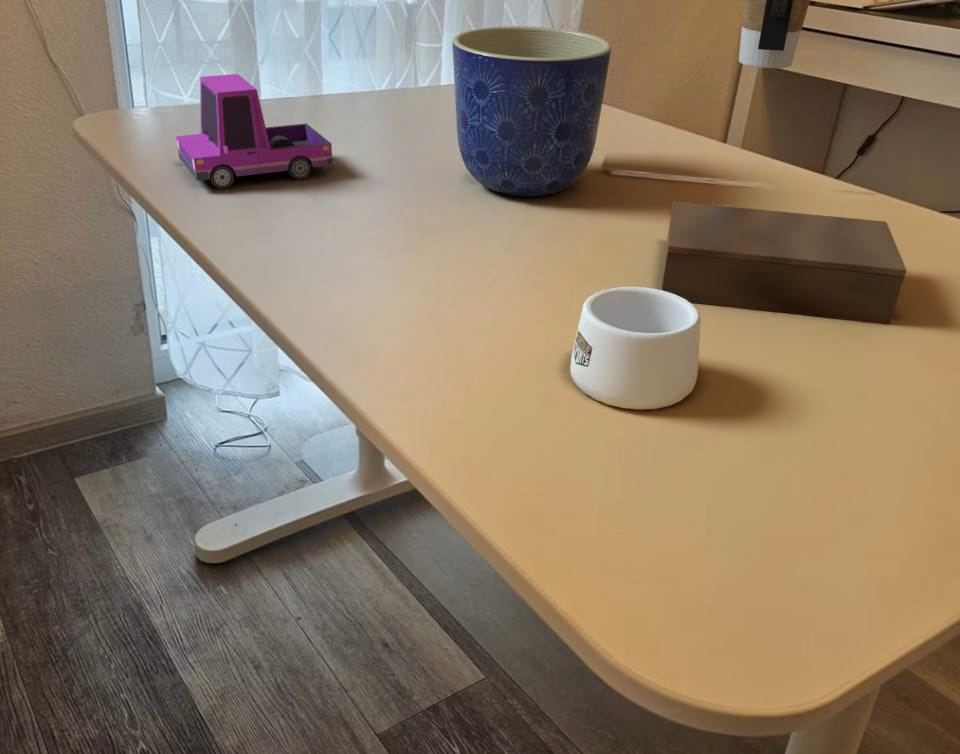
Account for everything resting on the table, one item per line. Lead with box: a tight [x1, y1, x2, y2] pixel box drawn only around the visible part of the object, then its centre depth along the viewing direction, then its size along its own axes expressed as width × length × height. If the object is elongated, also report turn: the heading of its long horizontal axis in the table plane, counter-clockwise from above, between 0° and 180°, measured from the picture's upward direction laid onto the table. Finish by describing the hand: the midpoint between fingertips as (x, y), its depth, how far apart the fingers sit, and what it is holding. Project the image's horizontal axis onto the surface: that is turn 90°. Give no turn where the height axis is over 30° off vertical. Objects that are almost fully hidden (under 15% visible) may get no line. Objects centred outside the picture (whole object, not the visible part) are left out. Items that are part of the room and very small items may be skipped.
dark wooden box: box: [660, 200, 907, 325], centre depth 88 cm, size 20×12×5 cm, turn 79°
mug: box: [569, 286, 702, 410], centre depth 72 cm, size 12×10×6 cm
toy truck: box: [175, 73, 334, 190], centre depth 108 cm, size 11×16×10 cm
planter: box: [451, 25, 612, 197], centre depth 106 cm, size 17×17×15 cm
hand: (769, 41), depth 106 cm, fingers closed on coffee cup, 8 cm apart
